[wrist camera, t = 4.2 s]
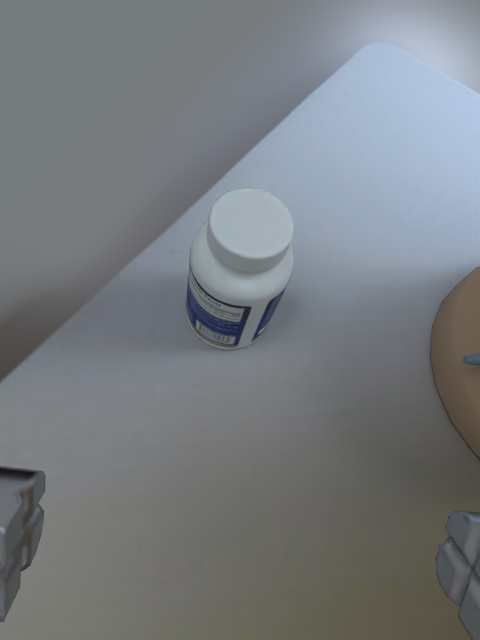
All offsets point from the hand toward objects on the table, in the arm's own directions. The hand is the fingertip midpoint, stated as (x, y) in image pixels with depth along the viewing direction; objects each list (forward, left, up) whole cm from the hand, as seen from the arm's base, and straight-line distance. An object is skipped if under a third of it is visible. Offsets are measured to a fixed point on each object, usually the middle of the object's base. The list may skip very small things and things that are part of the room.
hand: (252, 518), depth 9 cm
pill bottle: (0, +13, -17) cm, 21 cm away
